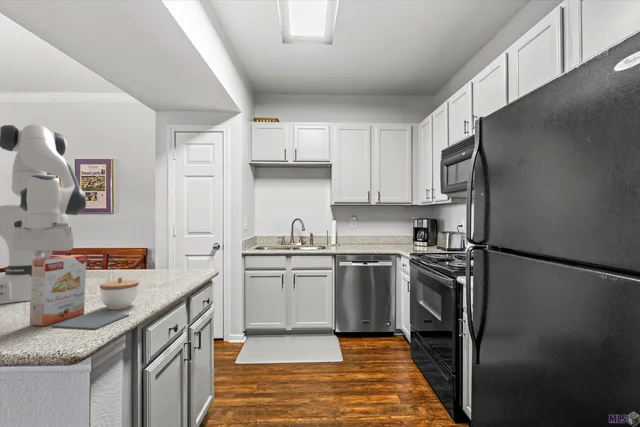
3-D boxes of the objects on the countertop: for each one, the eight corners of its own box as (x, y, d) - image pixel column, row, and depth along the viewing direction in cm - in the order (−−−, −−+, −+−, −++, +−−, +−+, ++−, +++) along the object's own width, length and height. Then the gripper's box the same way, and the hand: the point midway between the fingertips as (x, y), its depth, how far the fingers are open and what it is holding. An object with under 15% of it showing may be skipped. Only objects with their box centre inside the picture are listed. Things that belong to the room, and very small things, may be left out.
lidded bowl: (90, 311, 115) (91, 280, 115) (114, 302, 128) (115, 274, 128) (124, 311, 115) (125, 281, 115) (145, 302, 127) (145, 275, 127)
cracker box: (44, 327, 98) (45, 259, 98) (28, 325, 99) (30, 258, 99) (85, 314, 111) (87, 254, 112) (71, 313, 113) (73, 254, 113)
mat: (51, 327, 98) (51, 325, 98) (90, 313, 111) (90, 312, 112) (95, 329, 96) (95, 327, 96) (129, 315, 110) (129, 314, 110)
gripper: (79, 222, 108) (78, 263, 108) (27, 222, 111) (26, 262, 111) (62, 223, 102) (61, 265, 102) (7, 222, 105) (6, 264, 105)
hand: (42, 264), depth 106 cm, fingers closed
